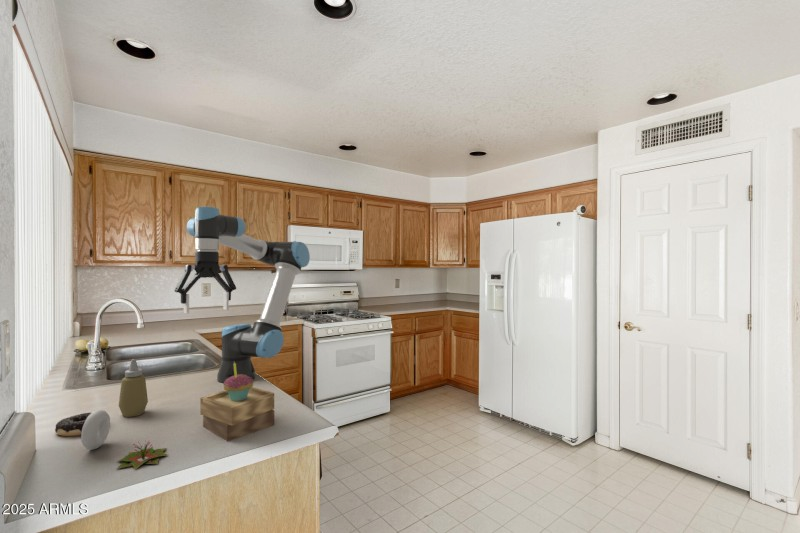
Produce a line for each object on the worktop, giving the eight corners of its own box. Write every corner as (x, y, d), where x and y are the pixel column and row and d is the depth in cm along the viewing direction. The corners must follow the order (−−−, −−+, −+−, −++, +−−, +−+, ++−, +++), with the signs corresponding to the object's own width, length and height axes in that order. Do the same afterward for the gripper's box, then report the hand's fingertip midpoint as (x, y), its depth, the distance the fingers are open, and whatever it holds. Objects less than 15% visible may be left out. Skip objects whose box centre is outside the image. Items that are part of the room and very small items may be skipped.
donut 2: (93, 456, 102) (93, 417, 102) (77, 457, 102) (78, 418, 101) (112, 439, 112) (112, 403, 112) (98, 440, 111) (98, 404, 111)
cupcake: (242, 404, 117) (242, 364, 116) (216, 402, 118) (216, 362, 118) (258, 394, 125) (258, 356, 125) (234, 392, 127) (234, 355, 126)
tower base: (248, 414, 133) (249, 399, 133) (274, 426, 123) (274, 410, 123) (203, 428, 121) (203, 412, 121) (227, 443, 111) (227, 425, 111)
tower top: (243, 399, 132) (243, 384, 132) (274, 408, 124) (274, 392, 124) (200, 414, 119) (200, 397, 119) (231, 425, 111) (231, 407, 111)
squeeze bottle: (115, 414, 130) (115, 359, 130) (144, 407, 136) (144, 355, 136) (121, 420, 125) (122, 363, 125) (151, 413, 131) (151, 359, 131)
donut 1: (93, 436, 114) (93, 422, 114) (45, 440, 112) (45, 426, 112) (112, 421, 125) (112, 408, 125) (68, 424, 122) (68, 411, 122)
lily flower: (163, 468, 97) (163, 450, 97) (105, 476, 94) (105, 456, 94) (175, 447, 109) (175, 430, 109) (124, 452, 105) (124, 435, 105)
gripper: (236, 252, 152) (235, 307, 152) (164, 250, 133) (163, 313, 133) (246, 251, 147) (245, 309, 147) (172, 249, 128) (172, 315, 128)
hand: (206, 311), depth 140 cm, fingers open, 13 cm apart
